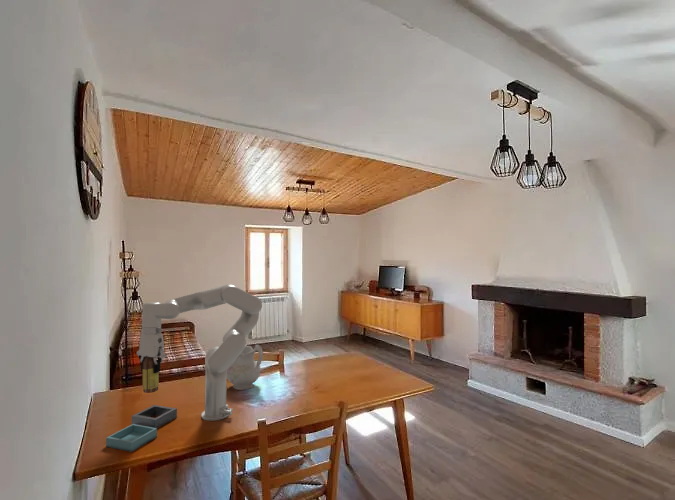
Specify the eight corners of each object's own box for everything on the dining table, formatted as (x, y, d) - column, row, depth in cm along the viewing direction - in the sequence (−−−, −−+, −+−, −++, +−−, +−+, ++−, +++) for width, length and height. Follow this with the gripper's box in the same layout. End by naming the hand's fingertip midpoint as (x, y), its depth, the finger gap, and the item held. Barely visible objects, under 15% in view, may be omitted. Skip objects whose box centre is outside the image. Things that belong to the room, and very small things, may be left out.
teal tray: (156, 436, 154) (157, 428, 154) (131, 451, 142) (131, 442, 142) (132, 432, 158) (132, 423, 158) (106, 446, 146) (106, 437, 146)
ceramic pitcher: (268, 384, 223) (269, 341, 226) (258, 393, 204) (259, 346, 206) (233, 382, 225) (234, 340, 228) (219, 391, 206) (221, 345, 208)
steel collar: (176, 417, 173) (177, 408, 173) (155, 429, 161) (155, 419, 161) (154, 413, 177) (154, 404, 177) (131, 425, 165) (131, 415, 165)
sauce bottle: (161, 388, 168) (162, 344, 168) (154, 393, 162) (155, 347, 162) (146, 388, 168) (147, 343, 168) (138, 393, 162) (140, 347, 162)
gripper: (173, 330, 166) (172, 371, 166) (143, 327, 172) (142, 367, 171) (160, 333, 159) (159, 376, 158) (129, 330, 165) (128, 371, 164)
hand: (150, 371), depth 165 cm, fingers closed on sauce bottle, 6 cm apart
